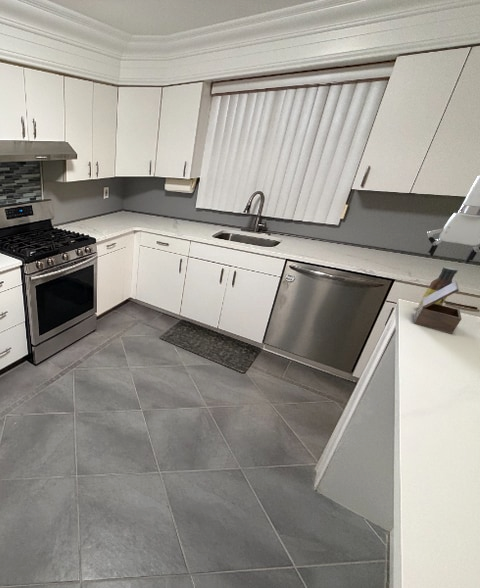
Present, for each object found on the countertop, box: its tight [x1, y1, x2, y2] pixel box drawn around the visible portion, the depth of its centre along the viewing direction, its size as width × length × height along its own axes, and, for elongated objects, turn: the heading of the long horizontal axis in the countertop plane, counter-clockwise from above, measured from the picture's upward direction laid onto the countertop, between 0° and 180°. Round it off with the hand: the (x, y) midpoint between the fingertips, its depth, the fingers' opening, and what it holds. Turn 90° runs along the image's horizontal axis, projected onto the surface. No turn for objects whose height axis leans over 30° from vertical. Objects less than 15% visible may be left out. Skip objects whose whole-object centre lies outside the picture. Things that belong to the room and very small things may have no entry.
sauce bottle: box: [416, 266, 459, 311], centre depth 127 cm, size 7×6×20 cm
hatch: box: [421, 281, 460, 308], centre depth 119 cm, size 11×10×1 cm
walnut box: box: [413, 303, 462, 335], centre depth 121 cm, size 10×10×7 cm
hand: (448, 258), depth 114 cm, fingers open, 8 cm apart
